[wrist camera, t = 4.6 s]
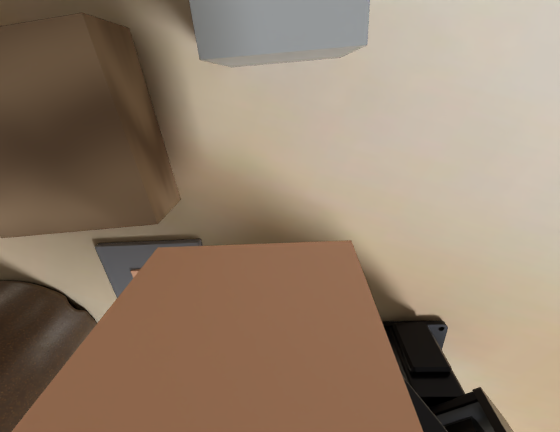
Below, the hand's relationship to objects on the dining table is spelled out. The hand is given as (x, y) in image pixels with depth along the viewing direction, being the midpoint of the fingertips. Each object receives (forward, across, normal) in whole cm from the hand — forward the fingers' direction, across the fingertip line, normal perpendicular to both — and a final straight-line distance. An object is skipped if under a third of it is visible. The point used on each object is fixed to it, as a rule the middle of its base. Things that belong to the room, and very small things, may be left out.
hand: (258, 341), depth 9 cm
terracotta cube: (+1, 0, 0) cm, 1 cm away
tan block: (+12, +12, -5) cm, 17 cm away
